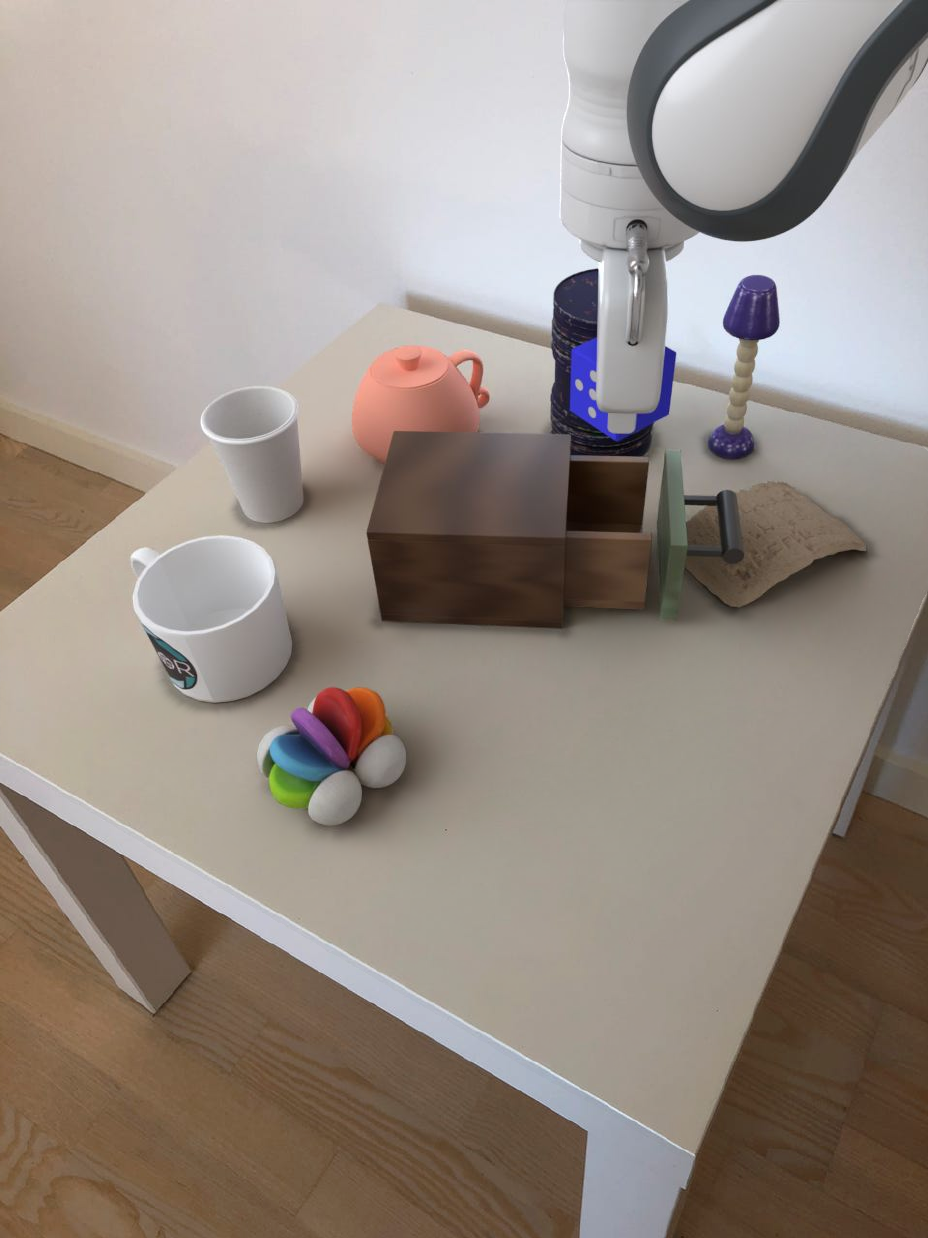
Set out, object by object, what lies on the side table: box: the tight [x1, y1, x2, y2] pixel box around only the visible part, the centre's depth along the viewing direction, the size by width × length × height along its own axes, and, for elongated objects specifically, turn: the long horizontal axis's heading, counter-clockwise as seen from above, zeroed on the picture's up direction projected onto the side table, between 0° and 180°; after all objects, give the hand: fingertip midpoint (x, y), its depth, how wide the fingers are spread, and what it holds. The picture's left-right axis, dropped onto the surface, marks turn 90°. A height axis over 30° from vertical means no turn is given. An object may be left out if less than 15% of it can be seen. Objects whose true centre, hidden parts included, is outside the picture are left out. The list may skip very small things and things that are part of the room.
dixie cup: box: [200, 385, 304, 524], centre depth 84 cm, size 8×8×10 cm
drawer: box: [564, 449, 744, 621], centre depth 75 cm, size 18×11×8 cm, turn 84°
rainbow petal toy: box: [256, 686, 407, 827], centre depth 64 cm, size 8×10×7 cm
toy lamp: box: [707, 274, 781, 460], centre depth 83 cm, size 5×5×17 cm
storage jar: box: [549, 267, 655, 457], centre depth 86 cm, size 10×10×15 cm
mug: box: [129, 534, 293, 704], centre depth 72 cm, size 13×10×8 cm
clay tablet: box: [684, 480, 867, 608], centre depth 79 cm, size 14×10×3 cm
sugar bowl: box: [351, 344, 491, 465], centre depth 89 cm, size 12×14×10 cm
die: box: [570, 337, 677, 442], centre depth 64 cm, size 5×5×5 cm
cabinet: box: [366, 431, 571, 630], centre depth 76 cm, size 15×13×10 cm
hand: (620, 392), depth 65 cm, fingers closed on die, 7 cm apart
